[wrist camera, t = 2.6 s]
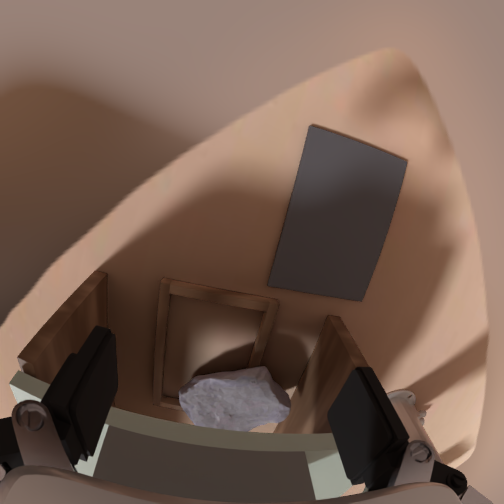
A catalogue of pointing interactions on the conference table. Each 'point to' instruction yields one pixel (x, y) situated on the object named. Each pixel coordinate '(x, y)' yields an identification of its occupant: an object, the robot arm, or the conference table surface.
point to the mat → (337, 217)
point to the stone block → (235, 399)
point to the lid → (207, 458)
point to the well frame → (95, 313)
